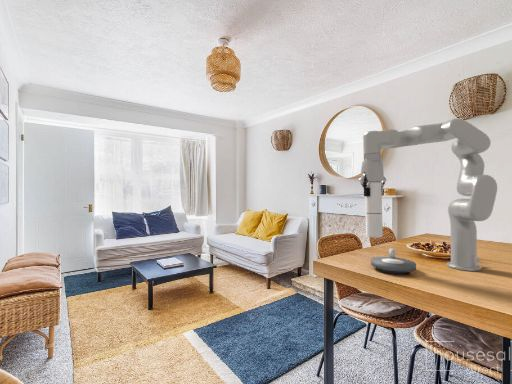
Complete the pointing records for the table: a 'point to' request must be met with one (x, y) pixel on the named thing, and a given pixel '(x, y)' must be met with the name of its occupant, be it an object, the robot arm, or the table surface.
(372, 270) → the table surface
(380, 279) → the table surface
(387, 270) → the turntable base
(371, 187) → the cylindrical container
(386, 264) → the disc
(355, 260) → the table surface
